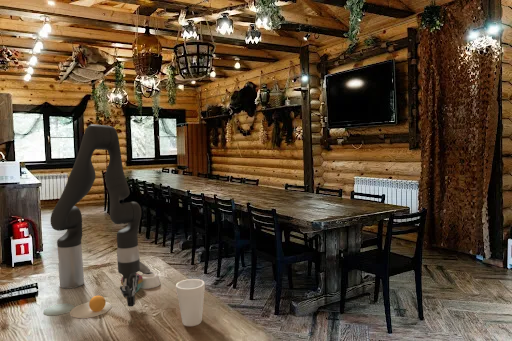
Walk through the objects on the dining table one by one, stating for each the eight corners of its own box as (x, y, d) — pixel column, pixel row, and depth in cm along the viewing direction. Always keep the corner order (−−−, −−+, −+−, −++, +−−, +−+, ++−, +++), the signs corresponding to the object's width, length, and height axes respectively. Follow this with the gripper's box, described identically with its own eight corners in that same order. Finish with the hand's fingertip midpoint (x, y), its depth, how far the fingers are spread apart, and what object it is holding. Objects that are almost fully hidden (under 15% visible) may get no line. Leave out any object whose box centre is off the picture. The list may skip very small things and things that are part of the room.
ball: (84, 298, 148) (99, 291, 148) (93, 301, 153) (106, 294, 153) (87, 312, 146) (101, 305, 146) (95, 315, 150) (109, 308, 150)
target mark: (61, 312, 149) (61, 311, 149) (96, 298, 161) (96, 298, 161) (84, 321, 141) (84, 321, 141) (119, 306, 153) (119, 306, 153)
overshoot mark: (38, 311, 151) (38, 311, 151) (64, 301, 159) (64, 301, 159) (52, 318, 145) (52, 317, 145) (79, 307, 153) (79, 307, 153)
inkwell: (151, 290, 168) (149, 266, 167) (116, 284, 176) (115, 261, 175) (165, 282, 176) (163, 259, 175) (131, 277, 184) (130, 255, 183)
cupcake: (136, 295, 163) (135, 265, 162) (117, 294, 164) (115, 264, 163) (146, 287, 171) (145, 259, 170) (127, 286, 173) (126, 258, 172)
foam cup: (182, 331, 132) (180, 291, 131) (174, 319, 141) (172, 282, 139) (210, 323, 137) (208, 285, 136) (200, 313, 145) (199, 277, 144)
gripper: (132, 264, 141) (135, 313, 143) (144, 252, 154) (147, 298, 156) (110, 264, 142) (113, 313, 143) (125, 253, 155) (127, 298, 157)
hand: (131, 305), depth 150 cm, fingers closed
